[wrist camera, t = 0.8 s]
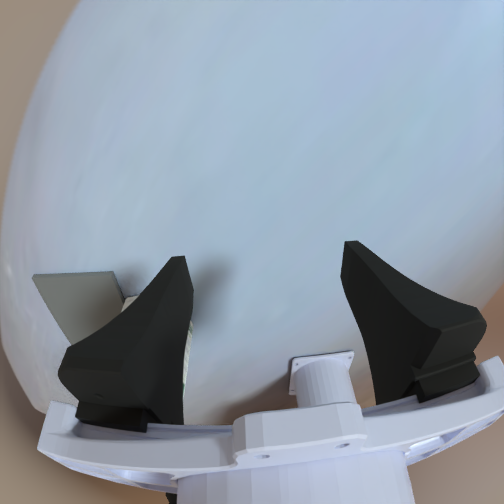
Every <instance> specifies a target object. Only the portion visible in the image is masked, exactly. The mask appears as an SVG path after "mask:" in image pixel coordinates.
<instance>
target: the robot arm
mask: <svg viewBox="0 0 504 504" xmlns="http://www.w3.org/2000/svg"><path fill="white" fill-rule="evenodd" d="M340 277H341V281H342V285H343V288H344V292H345V295H346V298H347V300H348V303H349V305H350V307H351V310H352V312H353V315H354V317H355V319H356V322H357V324H358V327H359V329H360V332H361V335H362V337H363V340H364V344H365V348H366V352H367V356H368V360H369V365H370V370H371V374H372V380H373V386H374V392H375V399H376V406H372V407H368V408H364V409H361V408H360V405H358V404H357V402H356V399H355V395H354V391H353V387H352V384H351V380H350V377H349V373H348V370H349V368H350V365H351V362H352V360H353V357H354V352H353V351H348V352H341V353H334V354H326V355H317V356H309V357H299V358H294V359H293V360H292V367H291V376H290V385H289V395H296V398H297V405H298V408H293V409H284V410H274V411H263V412H256V413H251V414H246V415H244V416H242V417H240V418H237V419H236V420H235V421H234V423H233V425H218V426H198V425H184V418H183V370H184V355H185V347H186V342H187V336H188V331H189V326H190V320H191V315H192V309H193V292H194V290H193V286H192V282H191V278H190V275H189V271H188V267H187V263H186V259H185V256H175V257H171V258H170V259H169V261H168V262H167V263H166V264H165V265H164V267H163V268H162V269H161V270H160V272H159V273H158V274H157V275H156V277H155V278H154V279H153V280H152V281H151V283H150V284H149V285H148V286H147V287H146V288H145V289H144V290H143V292H142V293H141V294H140V295H139V296H138V297H137V298H136V299H135V300H134V301H133V302H132V303H131V304H130V305H129V306H128V307H127V308H126V309H125V310H123V311H122V312H121V313H120V314H119V315H117V316H116V317H115V318H114V319H112V320H111V321H110V322H109V323H107V324H106V325H105V326H103V327H102V328H100V329H99V330H97V331H96V332H94V333H93V334H91V335H90V336H88V337H86V338H84V339H83V340H81V341H79V342H77V343H75V344H73V345H71V346H69V347H68V348H67V350H66V353H65V355H64V358H63V360H62V363H61V365H60V368H59V370H58V377H59V379H60V381H61V383H62V384H63V385H64V386H65V387H66V388H67V389H68V390H69V391H70V392H71V393H72V394H73V395H74V396H75V397H76V398H77V399H78V400H79V404H78V407H76V406H74V405H71V404H68V403H63V402H58V401H54V400H52V401H51V402H50V405H49V408H48V411H47V414H46V418H45V421H44V424H43V428H42V432H41V435H40V439H39V443H38V447H37V449H38V450H39V451H40V452H42V453H43V454H45V455H47V456H48V457H50V458H52V459H53V460H55V461H57V462H59V463H61V464H63V465H64V466H66V467H68V468H70V469H72V470H75V471H79V472H82V473H85V474H88V475H92V476H95V477H99V478H103V479H106V480H110V481H114V482H118V483H122V484H126V485H130V486H135V487H140V488H145V489H150V490H155V491H161V492H168V493H174V494H177V504H415V501H414V496H413V492H412V487H411V483H410V479H409V474H408V470H407V466H408V465H411V464H413V463H416V462H418V461H421V460H423V459H425V458H427V457H430V456H432V455H434V454H436V453H438V452H441V451H443V450H445V449H447V448H449V447H451V446H453V445H455V444H456V443H459V442H461V441H462V440H464V439H466V438H468V437H470V436H472V435H474V434H475V433H477V432H479V431H481V430H483V429H485V428H486V427H488V426H490V425H491V424H492V423H493V422H495V421H496V420H497V419H498V418H499V417H501V416H502V415H503V414H504V365H503V363H502V362H501V360H500V358H499V356H495V357H493V358H491V359H489V360H486V361H484V362H482V363H480V364H479V365H478V366H477V367H476V365H475V364H474V361H475V359H476V356H475V354H474V352H473V351H474V349H475V348H476V346H477V345H478V343H479V342H480V340H481V339H482V337H483V335H484V333H485V331H486V327H487V324H486V321H485V319H484V318H483V316H482V315H481V313H480V312H479V310H478V309H477V308H476V307H473V306H470V305H466V304H463V303H460V302H457V301H454V300H451V299H449V298H446V297H444V296H441V295H439V294H437V293H435V292H433V291H431V290H429V289H427V288H425V287H423V286H421V285H419V284H418V283H416V282H414V281H412V280H411V279H409V278H407V277H406V276H404V275H403V274H401V273H400V272H398V271H397V270H396V269H394V268H393V267H391V266H390V265H389V264H387V263H386V262H385V261H383V260H382V259H381V258H379V257H378V256H377V255H376V254H374V253H373V252H372V251H371V250H369V249H368V248H367V247H365V246H364V245H363V244H361V243H360V242H359V241H345V243H344V252H343V260H342V268H341V276H340Z"/></svg>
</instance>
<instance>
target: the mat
mask: <svg viewBox="0 0 504 504" xmlns="http://www.w3.org/2000/svg"><path fill="white" fill-rule="evenodd" d="M32 280H33V281H34V283H35V285H36V287H37V289H38V291H39V293H40V295H41V296H42V298H43V300H44V302H45V303H46V305H47V307H48V309H49V310H50V312H51V314H52V315H53V317H54V319H55V320H56V322H57V323H58V325H59V327H60V328H61V330H62V331H63V333H64V334H65V336H66V337H67V339H68V340H69V342H70V343H71V345H73V344H75V343H77V342H79V341H81V340H83V339H84V338H86V337H88V336H90V335H91V334H93V333H94V332H96V331H97V330H99V329H100V328H102V327H103V326H105V325H106V324H107V323H109V322H110V321H111V320H112V319H114V318H115V317H116V316H117V315H119V314H120V313H121V311H122V308H123V305H124V303H125V300H124V297H123V295H122V293H121V290H120V288H119V285H118V283H117V280H116V278H115V275H114V272H113V271H110V272H87V273H62V274H36V275H33V277H32Z"/></svg>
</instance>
